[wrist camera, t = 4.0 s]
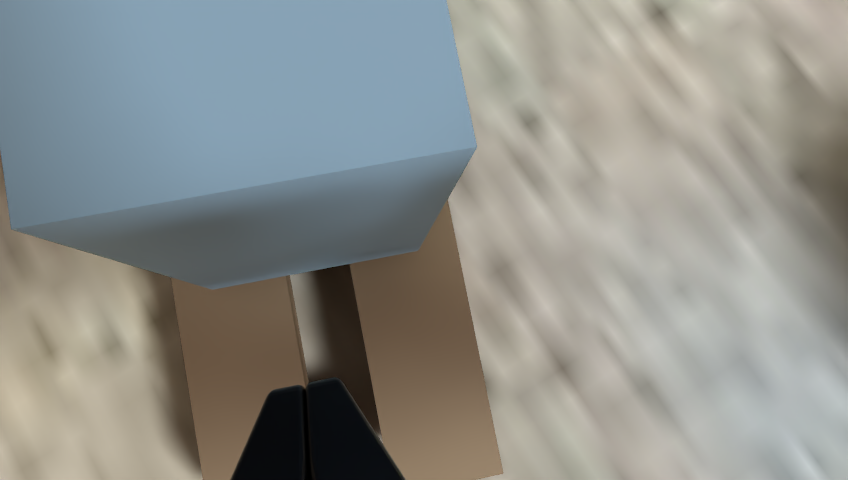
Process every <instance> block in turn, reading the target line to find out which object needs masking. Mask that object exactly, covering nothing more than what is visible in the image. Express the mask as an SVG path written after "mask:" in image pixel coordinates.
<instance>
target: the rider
mask: <svg viewBox="0 0 848 480" xmlns="http://www.w3.org/2000/svg"><path fill="white" fill-rule="evenodd" d="M476 148H477V144H476V139H475V135H474V130H473V125H472V120H471V116H470V111H469V106H468V101H467V96H466V92H465V87H464V82H463V77H462V73H461V68H460V63H459V58H458V54H457V49H456V44H455V39H454V34H453V30H452V25H451V20H450V15H449V11H448V6H447V1H446V0H0V151H1V159H2V166H3V173H4V180H5V188H6V195H7V202H8V210H9V217H10V224H11V230H15V231H18V232H21V233H25V234H28V235H31V236H35V237H38V238H41V239H45V240H48V241H51V242H55V243H58V244H61V245H65V246H68V247H71V248H75V249H78V250H82V251H85V252H88V253H92V254H95V255H98V256H102V257H105V258H108V259H112V260H115V261H118V262H122V263H125V264H128V265H132V266H135V267H138V268H142V269H145V270H148V271H152V272H155V273H158V274H162V275H165V276H168V277H172V278H175V279H178V280H182V281H185V282H188V283H192V284H195V285H198V286H202V287H205V288H208V289H212V290H214V289H219V288H224V287H230V286H235V285H240V284H245V283H251V282H256V281H261V280H267V279H272V278H277V277H282V276H288V275H293V274H298V273H304V272H309V271H314V270H319V269H325V268H330V267H335V266H341V265H346V264H351V263H356V262H362V261H367V260H372V259H378V258H383V257H388V256H393V255H399V254H404V253H409V252H415V251H418V250H419V248H420V247H421V245H422V243H423V241H424V240H425V238H426V236H427V234H428V232H429V231H430V229H431V227H432V225H433V224H434V222H435V220H436V218H437V217H438V215H439V213H440V211H441V210H442V208H443V206H444V204H445V203H446V201H447V199H448V197H449V195H450V194H451V192H452V190H453V188H454V187H455V185H456V183H457V181H458V180H459V178H460V176H461V174H462V173H463V171H464V169H465V167H466V165H467V164H468V162H469V160H470V158H471V157H472V155H473V153H474V151H475V150H476Z"/></svg>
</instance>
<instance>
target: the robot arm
mask: <svg viewBox="0 0 848 480" xmlns="http://www.w3.org/2000/svg"><path fill="white" fill-rule="evenodd" d="M230 480H406V479H405V477H404V476H403V474H402V473H401V471H400V470H399V468H398V467H397V465H396V463H395V462H394V460H393V459H392V457H391V456H390V454H389V453H388V451H387V450H386V448H385V447H384V445H383V443H382V442H381V440H380V439H379V437H378V436H377V434H376V433H375V431H374V430H373V428H372V427H371V425H370V423H369V422H368V420H367V419H366V417H365V416H364V414H363V413H362V411H361V410H360V408H359V407H358V405H357V403H356V402H355V400H354V399H353V397H352V396H351V394H350V393H349V391H348V390H347V388H346V387H345V385H344V383H343V382H342V381H341V380H340V379H339V378H336V377H334V378H329V379H324V380H319V381H314V382H310V383H308V384H307V385H306V388H304V387H303V386H302V385H294V386H289V387H284V388H279V389H275V390H272V391H271V392H270V393H269V394H268V395H267V397H266V399H265V401H264V403H263V406H262V408H261V410H260V413H259V415H258V417H257V419H256V422H255V424H254V426H253V429H252V431H251V433H250V435H249V438H248V440H247V442H246V445H245V447H244V449H243V451H242V454H241V456H240V458H239V461H238V463H237V465H236V467H235V470H234V472H233V474H232V477H231V479H230Z"/></svg>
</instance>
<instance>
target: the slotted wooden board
mask: <svg viewBox="0 0 848 480" xmlns="http://www.w3.org/2000/svg"><path fill="white" fill-rule="evenodd" d="M350 269H351V275H352V280H353V285H354V291H355V296H356V302H357V307H358V312H359V318H360V323H361V328H362V334H363V339H364V344H365V350H366V355H367V360H368V366H369V371H370V376H371V382H372V387H373V392H374V398H375V403H376V408H377V414H378V419H379V425H380V430H381V435H382V441H383V445H384V447H385V448H386V450H387V451H388V453H389V454H390V456H391V457H392V459H393V460H394V462H395V463H396V465H397V467H398V468H399V470H400V471H401V473H402V474H403V476H404V477H405V479H406V480H476V479H481V478H485V477H490V476H494V475H499V474H503V469H502V464H501V459H500V454H499V450H498V445H497V440H496V435H495V430H494V425H493V420H492V415H491V410H490V405H489V400H488V395H487V391H486V386H485V381H484V376H483V371H482V366H481V361H480V356H479V351H478V346H477V341H476V337H475V332H474V327H473V322H472V317H471V312H470V307H469V302H468V297H467V292H466V287H465V283H464V278H463V273H462V268H461V263H460V258H459V253H458V248H457V243H456V238H455V233H454V229H453V224H452V219H451V214H450V209H449V204H448V199H447V201H446V203H445V204H444V206H443V208H442V210H441V211H440V213H439V215H438V217H437V218H436V220H435V222H434V224H433V225H432V227H431V229H430V231H429V232H428V234H427V236H426V238H425V240H424V241H423V243H422V245H421V247H420V248H419V250H418V251H415V252H409V253H404V254H399V255H393V256H388V257H383V258H378V259H372V260H367V261H362V262H356V263H351V264H350ZM171 283H172V289H173V296H174V302H175V308H176V314H177V321H178V327H179V333H180V339H181V346H182V352H183V358H184V364H185V371H186V377H187V383H188V389H189V396H190V402H191V408H192V414H193V421H194V427H195V433H196V439H197V446H198V452H199V458H200V464H201V471H202V477H203V480H230V479H231V477H232V474H233V472H234V470H235V467H236V465H237V463H238V461H239V458H240V456H241V454H242V451H243V449H244V447H245V445H246V442H247V440H248V438H249V435H250V433H251V431H252V429H253V426H254V424H255V422H256V419H257V417H258V415H259V413H260V410H261V408H262V406H263V403H264V401H265V399H266V397H267V395H268V394H269V393H270V392H271V391H272V390H275V389H279V388H284V387H289V386H294V385H302V386H303V387H304V388H306V385H307V384H308V383H309V381H308V376H307V370H306V364H305V359H304V353H303V348H302V342H301V336H300V331H299V325H298V319H297V314H296V308H295V303H294V297H293V291H292V286H291V280H290V275H288V276H282V277H277V278H272V279H267V280H261V281H256V282H251V283H245V284H240V285H235V286H230V287H224V288H219V289H214V290H212V289H208V288H205V287H202V286H198V285H195V284H192V283H188V282H185V281H182V280H178V279H175V278H172V277H171Z"/></svg>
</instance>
